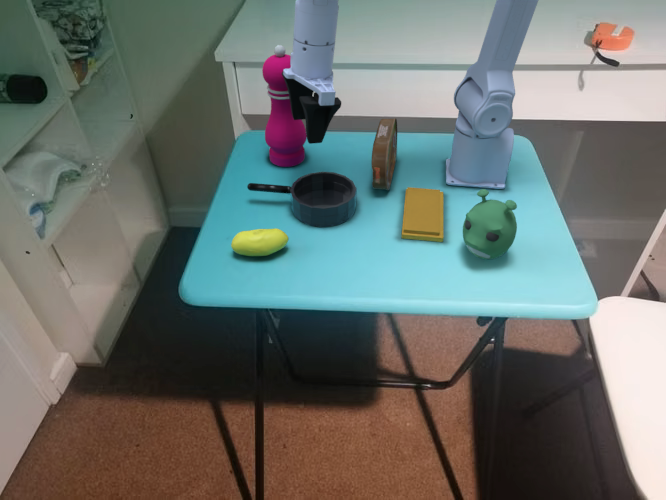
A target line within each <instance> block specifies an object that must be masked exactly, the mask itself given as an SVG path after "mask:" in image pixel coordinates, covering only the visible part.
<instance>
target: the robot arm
mask: <svg viewBox="0 0 666 500" xmlns="http://www.w3.org/2000/svg"><path fill="white" fill-rule="evenodd" d="M538 3H539V0H496V1H495V4H494V7H493V10H492V13H491V17H490V19H489V22H488V26H487V29H486V33H485V35H484V39H483V42H482V45H481V48H480V51H479V54H478V58H477V61H476V62H474V63H473V64H471V65H470V66H469V67H467V70H466V73H465V75H464V77H463V79H462V81H461V82H460V83H459V84H458V85H457V86H456V88H455V91H454V93H453V103H454V104H453V105H454V106H455V108H456V109H457V110H458V114H457V118H456V120H455V125H454V132H453V138H452V139H453V140H452V145H451V153H450V158H446V159H445V183H446V185H448V186H457V187H470V188H481V189H495V190H496V189H497V190H504V189H505V188H506V181H507V177H508V172H509V168H510V164H511V160H512V155H513V150H514V143H515V131H514V129H513V128H512V127H509V126H510V124H511V123H512V120H513V116H514V110H513V103H514V99H515V97H516V88H515V87H516V86H515V82H514V75H513V72H514V69H515V66H516V63H517V61H518V57H519V56H520V52H521V50H522V47H523V44H524V41H525V39H526V36H527V33H528V30H529V27H530V24H531V22H532V19H533V17H534V13H535V11H536V9H537V6H538ZM339 8H340V6H339V0H295V3H294V19H293V20H294V22H293V36H292V37H293V38H292V39H293V40H292V52H290V56H291V60H290V65H291V68H289V69H284V70H283V72H282V76H283V78H284V80H285V83H286V86H287V89H288V93H289V98H290V104H291V111H292V116H293V119H294V120H302V121H303V120H305V129H306V135H307V138H306V141H307V143H308V144H309V145H310V144H311V145H312V144H322V143H323V141H324V138H325V136H326V133H327V131H328V128H329V126H330V123H331V122H332V120H333V118H334V117H335V115H336V114H337V112H338V111H339V110H340V108H341V107H342V101H341V99H340V98H339V97H338V96H337V97H336V93H337V92H336V90H335V88H334V71H333V66H334V56H335V49H336V47H335V46H336V38H337V37H336V36H337V27H338V19H339V11H340V9H339Z"/></svg>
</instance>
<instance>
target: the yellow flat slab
mask: <svg viewBox="0 0 666 500" xmlns="http://www.w3.org/2000/svg"><path fill="white" fill-rule="evenodd" d="M403 207H404V208H403V216H402V227H401V239H403V240H404V239H405V240H415V241H427V242H435V243H437V242H438V243H443V242H444V233H445V231H444V229H445V228H444V225H445V224H444V191H441V189H436V188H435V189H434V188H423V187H410V186H408V187H407V188H405V194H404V206H403Z"/></svg>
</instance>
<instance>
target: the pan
mask: <svg viewBox="0 0 666 500" xmlns="http://www.w3.org/2000/svg"><path fill="white" fill-rule="evenodd" d="M290 187H291V189H290V207H291V212H292V214H293V216H294V217H295V218H296V219H297V220H298V221H300V222H301V223H303V224H306V225H309V226H311V227H317V228H318V227H319V228H329V227H334V226H339V225H342V224H344V223H346V222H348V221H349V220H350V219H351V218H352V217H353V216H354V215H355V212H356V209H357V190H358V189H357V186H356V184H355V182H354V181H353V180H352V179H351V178H350V177H348V176H346V175H345V174H341V173H338V172H335V171H316V172H310V173H307V174H304V175H302V176H300V177H299V178H297V179H296V180H295V181H294V182H292V185H291V186H290Z"/></svg>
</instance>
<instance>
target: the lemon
mask: <svg viewBox="0 0 666 500" xmlns="http://www.w3.org/2000/svg"><path fill="white" fill-rule="evenodd" d="M289 239H290V238H289V236H288V234H287V233H286V232H285V231H284V230H282V229H280V228H257V229H250V230H242V231H239V232H237V233H236V234H235V235H234V236H233V238H232V240H231V243H230V246H231V249H232V250H233V251H234V253H236V254H238V255H241V256H247V257H266V256H270V255H272V254H274V253H277V252H279V251H281V250H282V249H284V247H286V246H287V244H288V243H289Z"/></svg>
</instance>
